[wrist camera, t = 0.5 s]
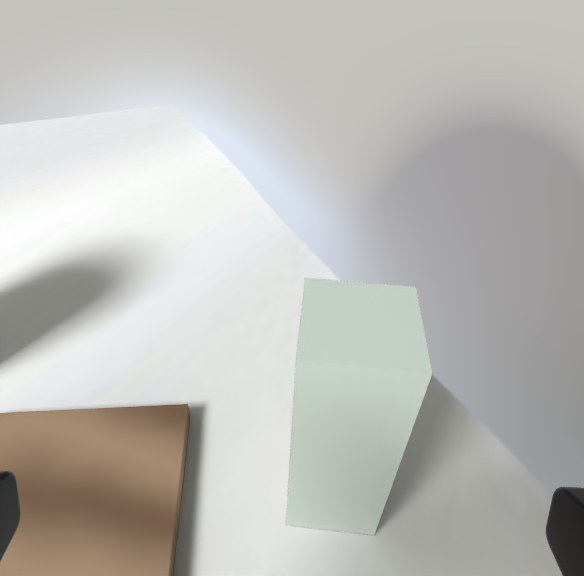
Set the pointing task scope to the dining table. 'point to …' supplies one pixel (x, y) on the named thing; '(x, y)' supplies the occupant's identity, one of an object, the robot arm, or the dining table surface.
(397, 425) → the pale green square post
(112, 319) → the dining table surface
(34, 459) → the plate
